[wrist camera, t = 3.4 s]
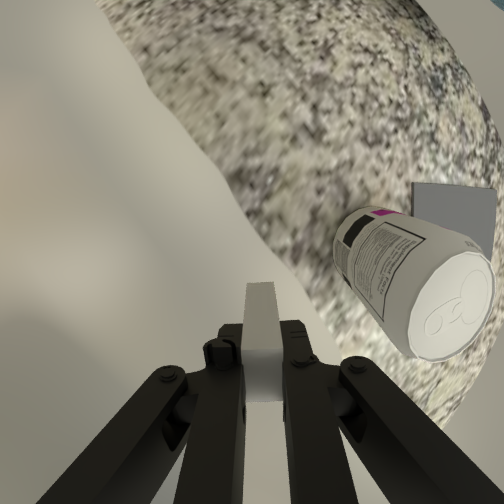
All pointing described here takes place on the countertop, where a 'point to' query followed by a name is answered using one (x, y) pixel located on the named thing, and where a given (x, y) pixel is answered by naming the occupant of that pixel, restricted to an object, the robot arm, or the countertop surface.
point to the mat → (458, 210)
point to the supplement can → (416, 281)
